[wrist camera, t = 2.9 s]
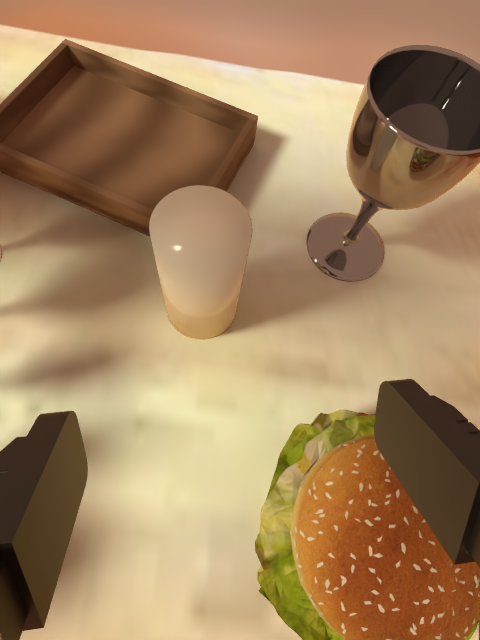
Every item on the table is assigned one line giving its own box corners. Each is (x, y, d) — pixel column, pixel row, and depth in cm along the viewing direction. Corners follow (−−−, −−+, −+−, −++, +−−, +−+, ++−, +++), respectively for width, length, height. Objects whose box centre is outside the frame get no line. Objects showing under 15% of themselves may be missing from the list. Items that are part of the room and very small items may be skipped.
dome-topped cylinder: (153, 321, 30) (129, 245, 20) (186, 265, 32) (178, 171, 22) (218, 350, 30) (226, 288, 20) (246, 292, 32) (267, 208, 22)
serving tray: (-13, 165, 34) (-33, 136, 31) (75, 71, 40) (65, 38, 37) (190, 253, 33) (188, 232, 30) (253, 143, 38) (258, 116, 35)
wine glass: (287, 258, 34) (346, 107, 20) (323, 196, 36) (397, 26, 23) (369, 301, 33) (492, 175, 19) (400, 234, 36) (526, 82, 22)
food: (325, 379, 30) (365, 349, 23) (481, 510, 28) (583, 525, 20) (204, 531, 25) (204, 556, 18) (377, 705, 23) (459, 815, 16)
